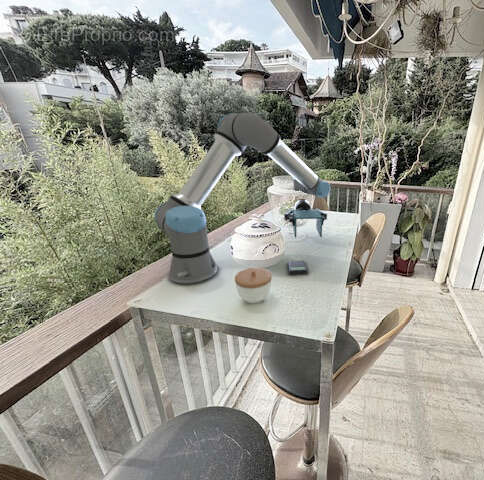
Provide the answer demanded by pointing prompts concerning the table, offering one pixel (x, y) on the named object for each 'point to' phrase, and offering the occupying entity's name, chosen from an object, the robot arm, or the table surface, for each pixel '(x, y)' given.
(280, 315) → the table surface
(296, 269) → the calculator
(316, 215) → the cover
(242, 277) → the trinket box
